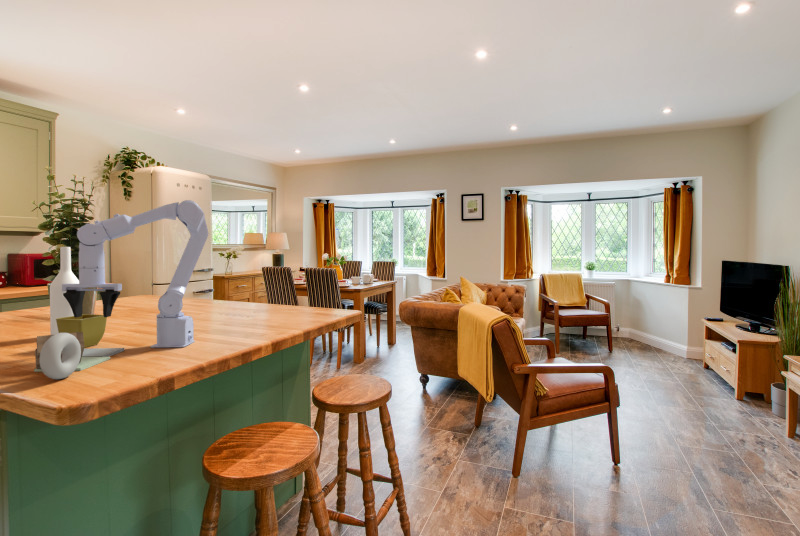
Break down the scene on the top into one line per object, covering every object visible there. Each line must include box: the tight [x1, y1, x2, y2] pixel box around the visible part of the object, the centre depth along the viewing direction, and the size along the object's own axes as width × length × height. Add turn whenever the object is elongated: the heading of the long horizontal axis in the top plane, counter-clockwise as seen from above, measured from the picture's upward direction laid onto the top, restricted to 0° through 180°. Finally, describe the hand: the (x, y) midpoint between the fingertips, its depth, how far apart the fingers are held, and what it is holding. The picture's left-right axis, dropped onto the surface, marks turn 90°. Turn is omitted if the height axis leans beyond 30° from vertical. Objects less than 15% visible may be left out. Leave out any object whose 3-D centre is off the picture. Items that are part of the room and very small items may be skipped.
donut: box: [39, 333, 81, 380], centre depth 87 cm, size 10×4×10 cm, turn 8°
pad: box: [33, 356, 111, 373], centre depth 98 cm, size 10×11×1 cm
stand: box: [82, 347, 125, 357], centre depth 108 cm, size 15×10×4 cm, turn 95°
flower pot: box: [56, 313, 108, 349], centre depth 119 cm, size 9×9×9 cm
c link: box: [34, 332, 85, 369], centre depth 93 cm, size 8×9×4 cm
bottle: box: [49, 246, 79, 335], centre depth 132 cm, size 8×8×30 cm
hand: (92, 316), depth 112 cm, fingers open, 7 cm apart
